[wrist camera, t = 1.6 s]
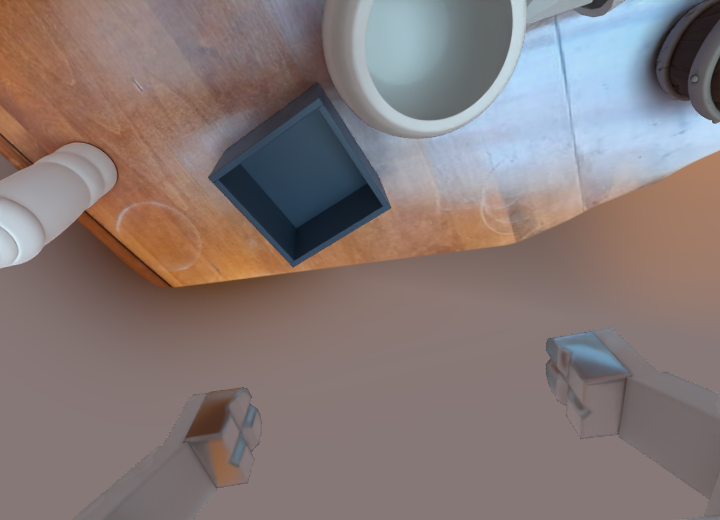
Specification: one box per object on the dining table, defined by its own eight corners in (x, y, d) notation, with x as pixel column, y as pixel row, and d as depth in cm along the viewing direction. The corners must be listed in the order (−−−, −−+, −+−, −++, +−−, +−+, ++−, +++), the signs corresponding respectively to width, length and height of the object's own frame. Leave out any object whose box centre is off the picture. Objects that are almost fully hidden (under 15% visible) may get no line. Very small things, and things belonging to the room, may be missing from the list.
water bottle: (83, 197, 51) (-69, 321, 31) (47, 149, 47) (-156, 254, 27) (130, 183, 51) (7, 299, 31) (97, 134, 47) (-70, 229, 27)
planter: (388, -101, 38) (460, -210, 19) (478, 26, 45) (593, 37, 26) (290, 33, 43) (275, 48, 25) (384, 127, 50) (426, 193, 32)
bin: (225, 150, 50) (207, 177, 42) (318, 82, 46) (319, 97, 38) (295, 231, 58) (293, 267, 50) (379, 178, 55) (391, 208, 46)
